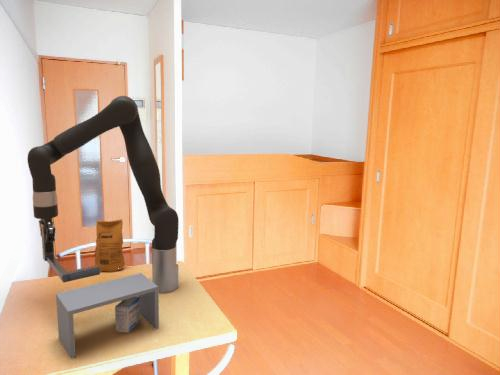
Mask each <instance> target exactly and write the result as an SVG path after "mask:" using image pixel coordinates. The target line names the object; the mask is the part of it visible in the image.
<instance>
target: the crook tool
mask: <svg viewBox="0 0 500 375" xmlns="http://www.w3.org/2000/svg"><path fill="white" fill-rule="evenodd" d="M45 234H46V233H45ZM50 238H51V237H49V238H48V239H50ZM41 244H42V248H41V250H42V260H43V261H44V262H47V264H48V265H49V266H50V267H51V268H52V270H53V271H54V272H55V273H56V275H57V276H58V278H59V279H60V280H61V282H62V283H64V284H65V283H68V282H72V281H73V282H74V281H77V280H80V279H85V278H90V277H94V276H100V275H101V274H100V273H101V272H100V267H99V266H98V265H96V266H95V265H92V266H91V265H90V266H87V267H83V268H78V269H73V270H68V271H67V270H66V268H65V267H64V266H63V265H62V263H61V262H59V260H58V258H56V257H55V248H54V247H55V246H54V244H55V243H54V242H53V252H50V253H47V252H46V246H45V237H44V236H43V233H42V237H41Z"/></svg>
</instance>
